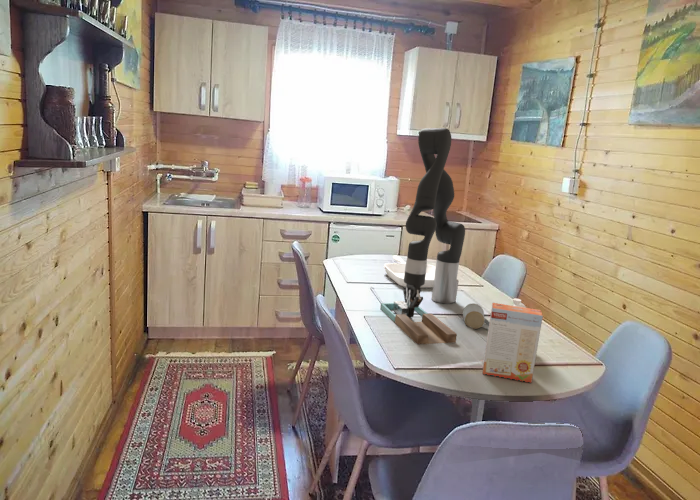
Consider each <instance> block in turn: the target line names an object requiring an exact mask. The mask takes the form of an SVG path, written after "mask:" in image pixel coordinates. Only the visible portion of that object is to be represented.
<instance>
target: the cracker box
mask: <svg viewBox="0 0 700 500" xmlns="http://www.w3.org/2000/svg"><path fill="white" fill-rule="evenodd" d="M543 317H544V315H543V312H542V310H541V309H536V308H530V307H526V308H524V307H517V306H513V305H509V304H504V303H498V302H492V304H491V310H490V317H489V322H490V323H489V329H487V331H488V332H487V338H486V344H485V351H484V355H483V356H484V357H483V363H482V364H483V365H482V375H485V374H487V375H486V376H490V375H494V376H493V377H496V376H499V377H498V378H501V377H504V378H503V379H507V378H510V379H509V380H512V379H515V380H514V381H518V380H520V381H519V382H523V381H525V382H524V383H528V382H530V383H529V384H531V383H532V381H533V375H534V369H535V363H536V360H537V359H536V357H537V352H538V346H539V341H540V335H541V330H542V323H543Z"/></svg>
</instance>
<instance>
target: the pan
mask: <svg viewBox="0 0 700 500" xmlns="http://www.w3.org/2000/svg"><path fill="white" fill-rule="evenodd" d="M392 259H393V260H394V261H395V262H397V263H395V262H394V263H392V262H389V263H384V264H383V268H384V269H385V273H386V275H387V277H388V278H390V280H392V281H393V282H394V283H396V285H398V286H400V287H402V288H403V287H406V285H407V284H406V283H405V282H404V274H405V266H406V261H404V259H403V258H402V257H400V256H398V255H393V256H392ZM435 268H436V265H432V264H428V263H427V269H426V277H425V284H424V285H422V286H421V287H420V289H431V288H432V289H433V283H434V276H435Z"/></svg>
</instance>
